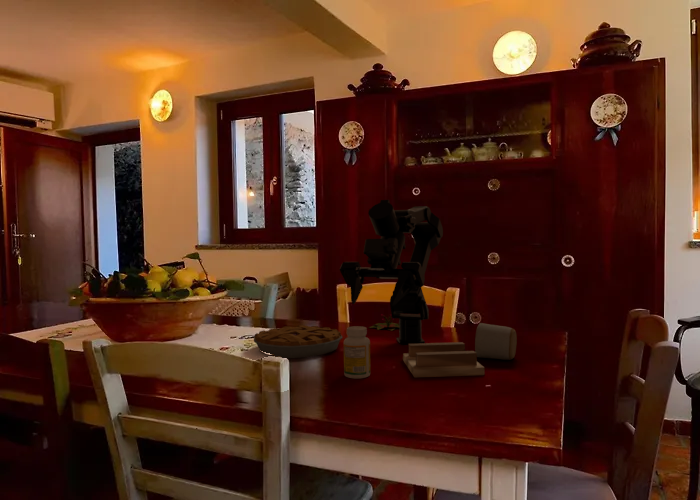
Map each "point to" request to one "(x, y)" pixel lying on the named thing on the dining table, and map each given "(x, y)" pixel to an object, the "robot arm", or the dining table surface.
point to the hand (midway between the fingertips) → (372, 303)
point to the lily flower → (386, 324)
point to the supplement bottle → (356, 353)
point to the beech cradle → (442, 360)
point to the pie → (298, 341)
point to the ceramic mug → (495, 342)
